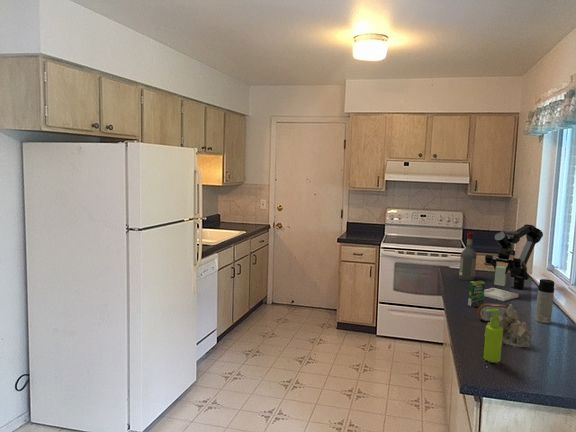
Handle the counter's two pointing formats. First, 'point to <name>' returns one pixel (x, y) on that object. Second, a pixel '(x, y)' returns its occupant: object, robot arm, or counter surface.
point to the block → (500, 275)
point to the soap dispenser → (493, 338)
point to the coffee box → (476, 293)
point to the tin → (487, 316)
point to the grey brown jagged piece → (513, 329)
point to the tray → (499, 294)
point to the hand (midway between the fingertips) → (500, 273)
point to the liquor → (468, 261)
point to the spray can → (544, 301)
